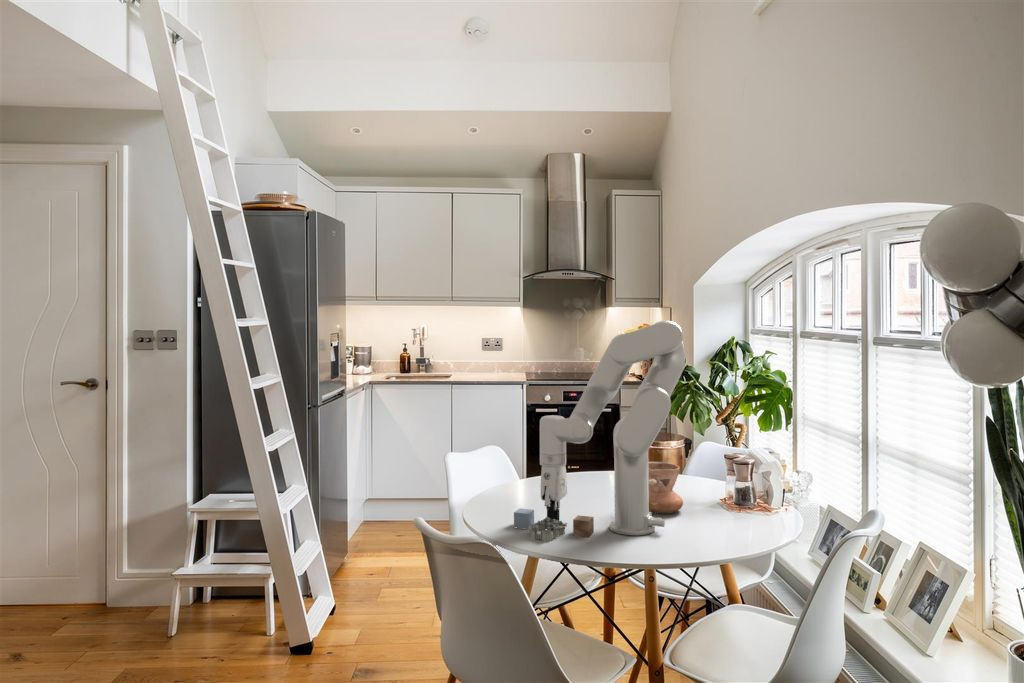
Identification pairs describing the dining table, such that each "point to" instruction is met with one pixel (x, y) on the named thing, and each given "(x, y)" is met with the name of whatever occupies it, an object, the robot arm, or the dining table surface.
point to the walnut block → (583, 526)
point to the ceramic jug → (663, 488)
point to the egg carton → (552, 528)
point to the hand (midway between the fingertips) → (553, 522)
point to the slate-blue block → (523, 518)
